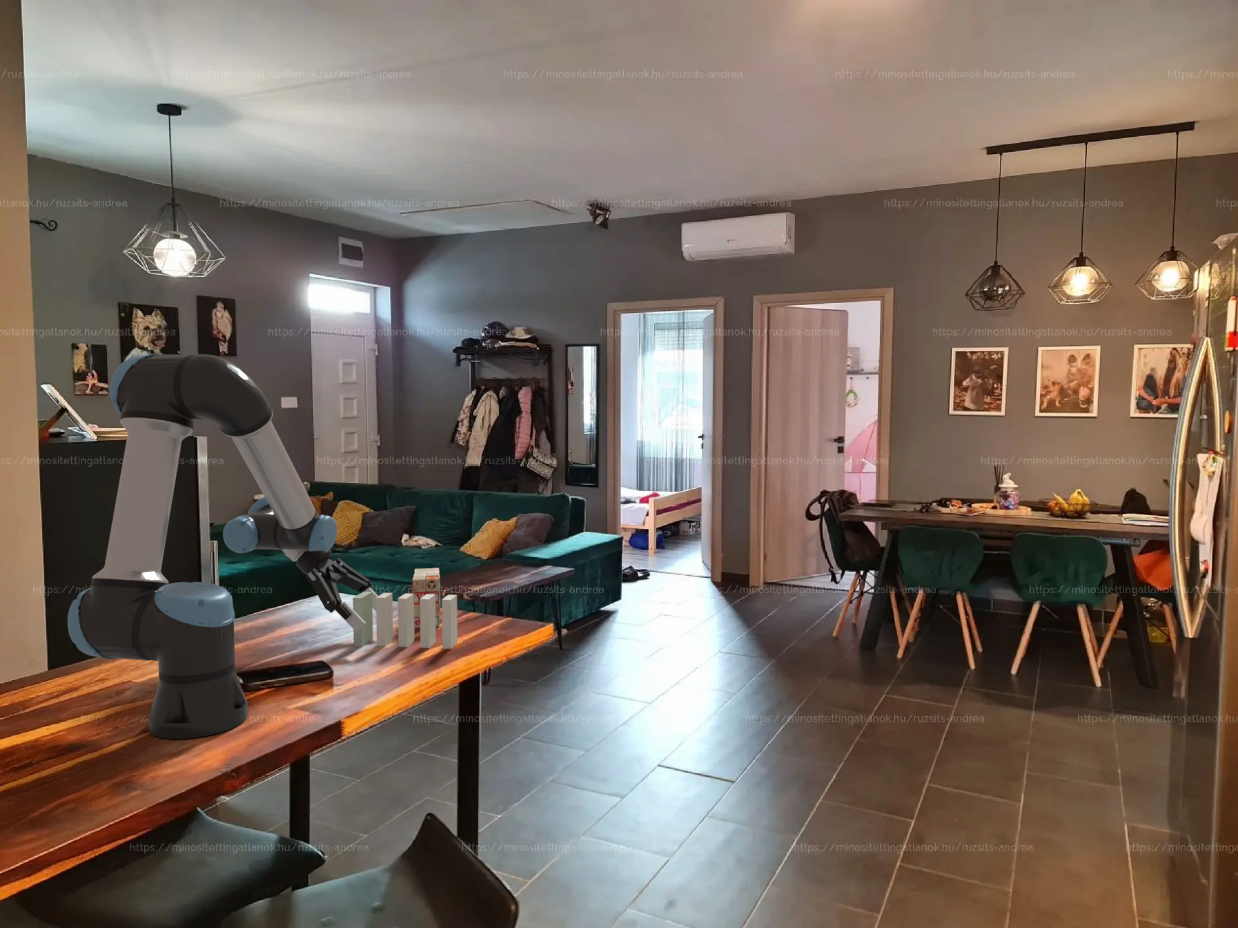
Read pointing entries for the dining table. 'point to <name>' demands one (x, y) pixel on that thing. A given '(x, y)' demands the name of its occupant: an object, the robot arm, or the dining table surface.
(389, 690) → the dining table surface
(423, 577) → the stack of blocks
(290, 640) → the dining table surface
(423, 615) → the domino
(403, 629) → the domino
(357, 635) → the sage domino
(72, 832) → the dining table surface
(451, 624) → the domino
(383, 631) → the domino
